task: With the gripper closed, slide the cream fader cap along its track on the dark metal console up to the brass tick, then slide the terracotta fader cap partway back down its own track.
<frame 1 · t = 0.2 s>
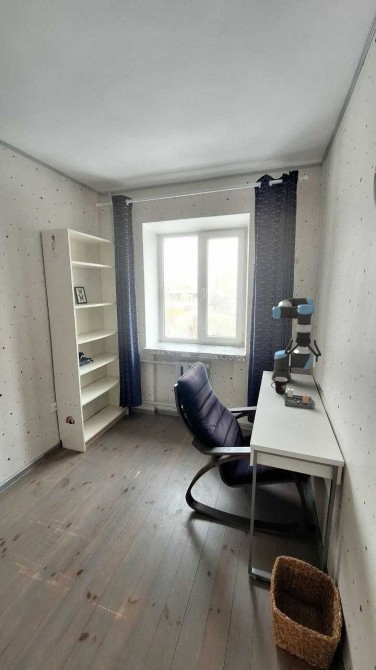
hand: (301, 366, 162), 27 cm above the table, fingers open, 13 cm apart
fader terracotta: (305, 398, 170), point 5 cm above the table, slide at 0.0 cm
console: (298, 402, 176), on the table
coffee mug: (278, 392, 192), on the table
fader cream: (290, 392, 180), point 5 cm above the table, slide at 0.0 cm
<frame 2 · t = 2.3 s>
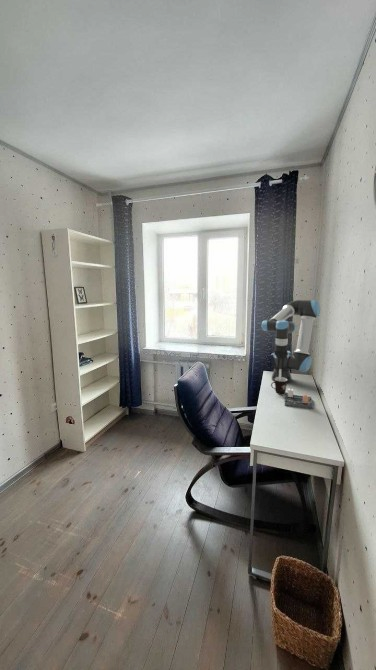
hand: (279, 379, 180), 14 cm above the table, fingers closed
nothing on the table moved.
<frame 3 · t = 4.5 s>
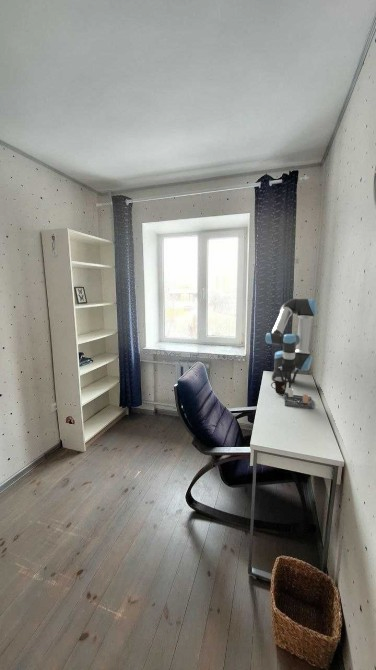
hand: (287, 392, 180), 5 cm above the table, fingers closed
fader cream: (290, 392, 180), point 5 cm above the table, slide at 0.4 cm, touching gripper
everything else where it was.
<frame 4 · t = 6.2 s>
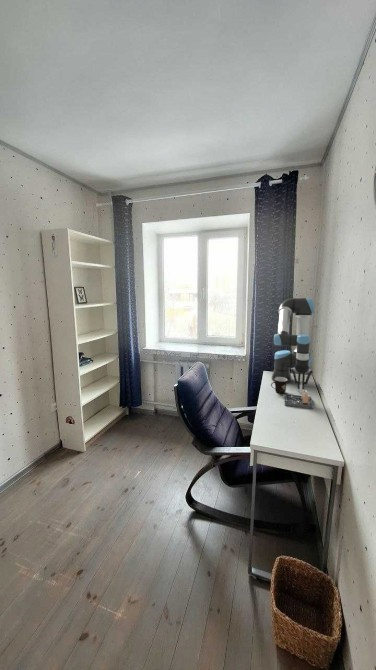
hand: (300, 393, 178), 5 cm above the table, fingers closed
fader cream: (304, 394, 177), point 5 cm above the table, slide at 8.5 cm, touching gripper
everything else where it was.
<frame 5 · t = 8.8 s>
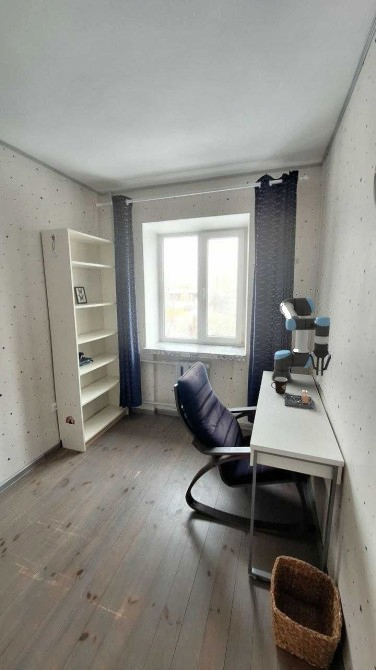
hand: (319, 380, 165), 18 cm above the table, fingers closed
fader cream: (304, 394, 177), point 5 cm above the table, slide at 8.7 cm
everything else where it was.
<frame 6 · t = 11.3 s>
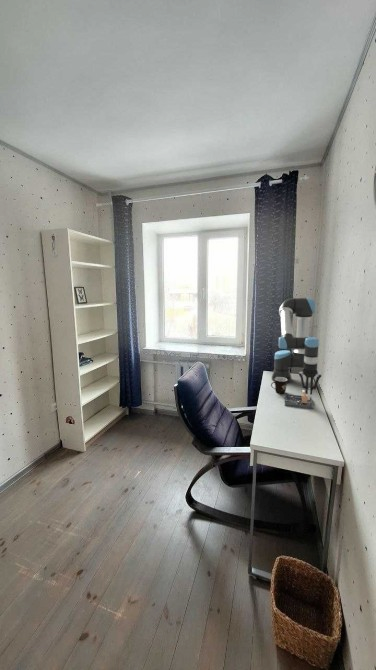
hand: (308, 398, 170), 5 cm above the table, fingers closed
fader terracotta: (304, 398, 170), point 5 cm above the table, slide at 0.5 cm, touching gripper
everything else where it was.
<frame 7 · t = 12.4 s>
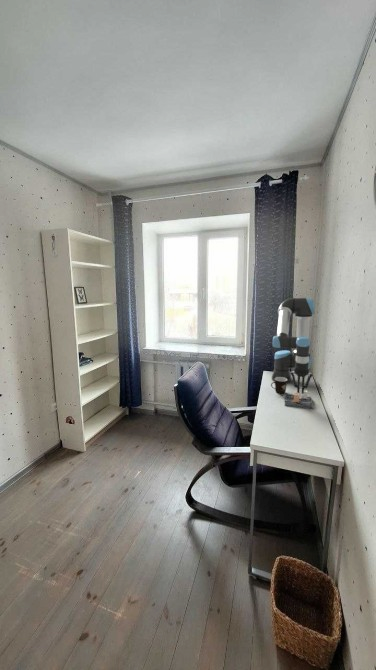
hand: (300, 397, 171), 5 cm above the table, fingers closed
fader terracotta: (296, 397, 172), point 5 cm above the table, slide at 5.3 cm, touching gripper
everything else where it was.
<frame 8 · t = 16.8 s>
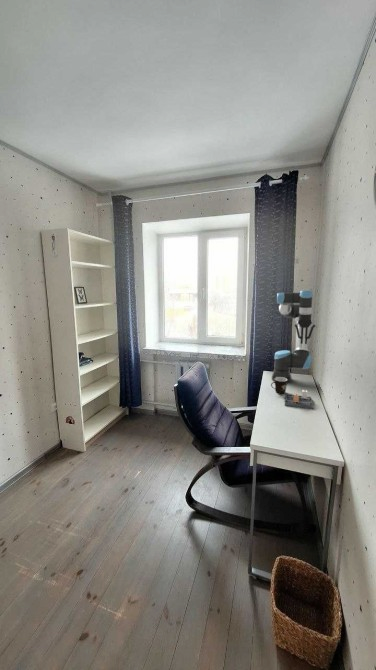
hand: (303, 348, 183), 32 cm above the table, fingers closed
fader terracotta: (296, 397, 172), point 5 cm above the table, slide at 5.5 cm
everything else where it was.
at the end: fader cream slide at 8.7 cm; fader terracotta slide at 5.5 cm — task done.
